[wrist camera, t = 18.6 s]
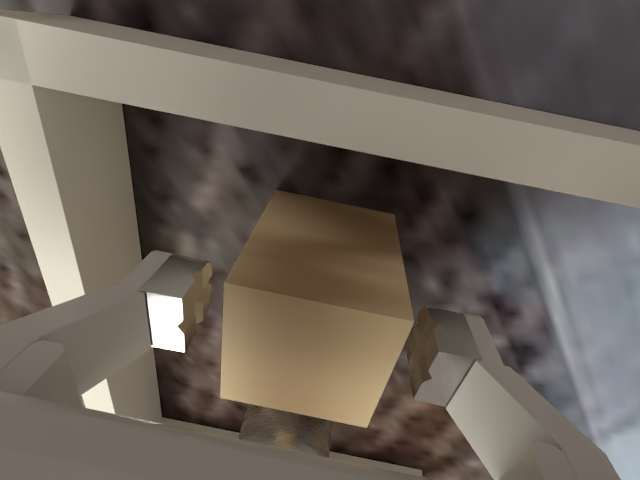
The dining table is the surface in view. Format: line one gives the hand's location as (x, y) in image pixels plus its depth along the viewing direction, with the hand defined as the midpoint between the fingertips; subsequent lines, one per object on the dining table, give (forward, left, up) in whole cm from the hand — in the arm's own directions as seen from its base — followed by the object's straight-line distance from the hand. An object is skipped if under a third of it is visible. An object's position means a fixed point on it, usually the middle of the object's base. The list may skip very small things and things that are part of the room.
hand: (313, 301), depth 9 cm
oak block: (0, 0, -3) cm, 3 cm away
